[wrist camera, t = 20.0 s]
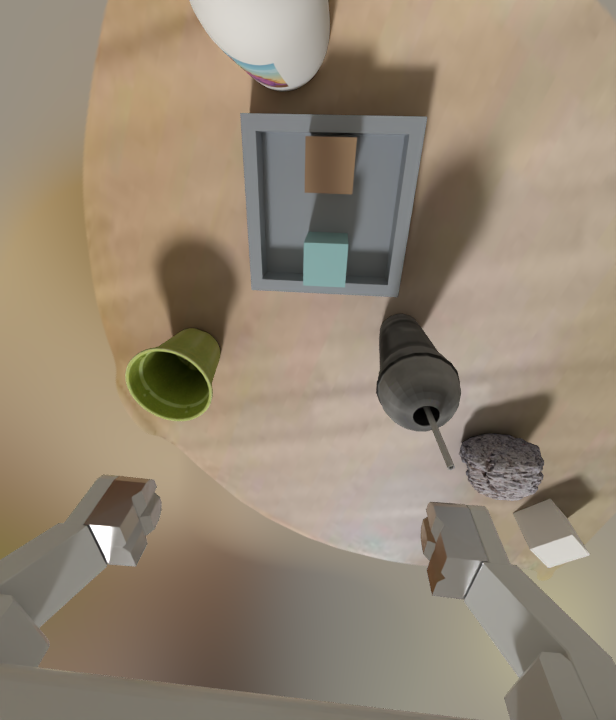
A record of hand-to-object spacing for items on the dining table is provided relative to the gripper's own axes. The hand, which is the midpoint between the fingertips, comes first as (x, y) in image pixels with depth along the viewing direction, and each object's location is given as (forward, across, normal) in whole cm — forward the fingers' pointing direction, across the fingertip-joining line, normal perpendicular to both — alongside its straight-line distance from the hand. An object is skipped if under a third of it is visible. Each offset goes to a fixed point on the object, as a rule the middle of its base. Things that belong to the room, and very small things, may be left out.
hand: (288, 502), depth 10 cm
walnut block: (+30, 0, -8) cm, 32 cm away
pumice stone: (+31, -24, +26) cm, 47 cm away
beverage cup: (+31, -9, +9) cm, 34 cm away
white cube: (+31, -36, +40) cm, 62 cm away
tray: (+31, 0, -4) cm, 31 cm away
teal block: (+30, 0, 0) cm, 31 cm away
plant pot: (+31, +16, +13) cm, 37 cm away
